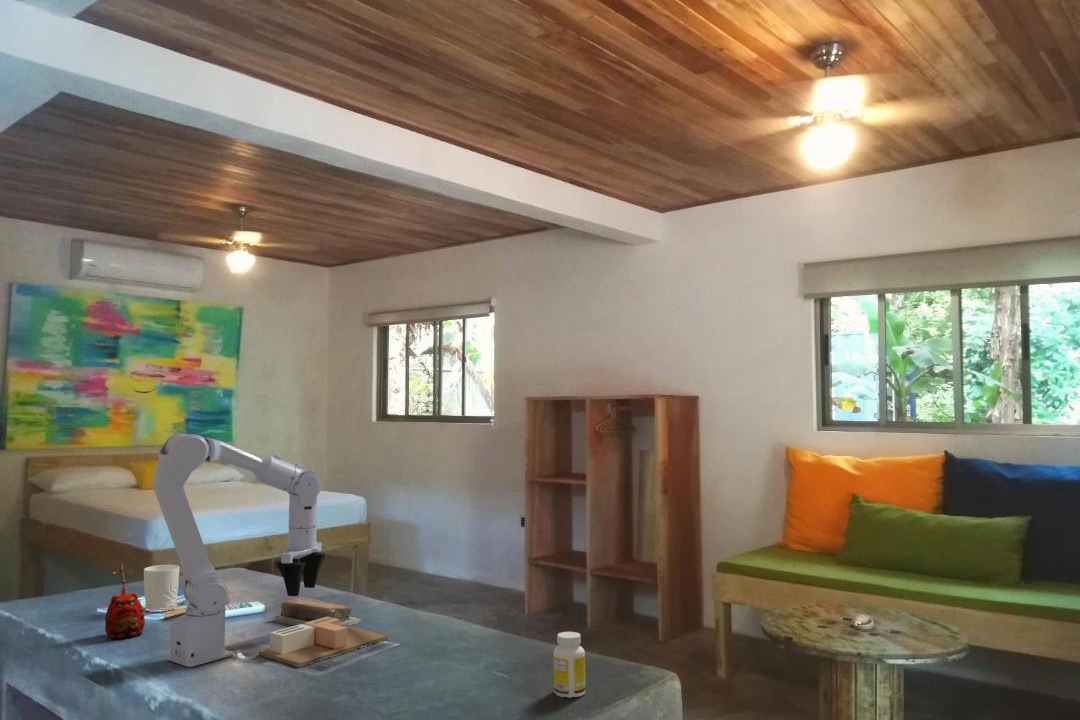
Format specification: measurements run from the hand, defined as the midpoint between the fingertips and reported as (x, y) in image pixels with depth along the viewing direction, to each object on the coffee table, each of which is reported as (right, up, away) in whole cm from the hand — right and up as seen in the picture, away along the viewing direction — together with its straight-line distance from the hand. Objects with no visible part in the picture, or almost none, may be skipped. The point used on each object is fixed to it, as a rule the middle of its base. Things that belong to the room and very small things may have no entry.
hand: (301, 591), depth 170 cm
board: (+7, -10, -6) cm, 13 cm away
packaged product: (0, -11, +13) cm, 17 cm away
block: (+8, -9, -5) cm, 13 cm away
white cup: (-41, -12, +24) cm, 49 cm away
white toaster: (+1, -9, -9) cm, 13 cm away
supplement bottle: (+56, -8, -33) cm, 65 cm away
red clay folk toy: (-39, -11, +3) cm, 40 cm away
